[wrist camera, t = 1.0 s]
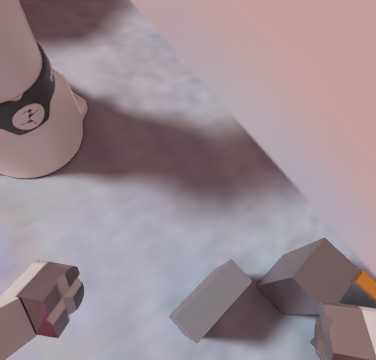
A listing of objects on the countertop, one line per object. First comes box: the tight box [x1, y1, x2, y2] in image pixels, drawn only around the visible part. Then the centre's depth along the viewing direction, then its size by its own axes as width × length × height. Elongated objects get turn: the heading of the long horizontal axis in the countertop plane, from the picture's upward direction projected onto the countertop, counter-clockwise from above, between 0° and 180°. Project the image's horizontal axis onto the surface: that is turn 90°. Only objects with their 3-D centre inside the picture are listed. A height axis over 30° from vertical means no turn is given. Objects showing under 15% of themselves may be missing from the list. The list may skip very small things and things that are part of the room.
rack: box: [256, 238, 376, 347], centre depth 34 cm, size 14×6×12 cm, turn 44°
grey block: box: [169, 259, 252, 343], centre depth 34 cm, size 3×8×10 cm, turn 134°
